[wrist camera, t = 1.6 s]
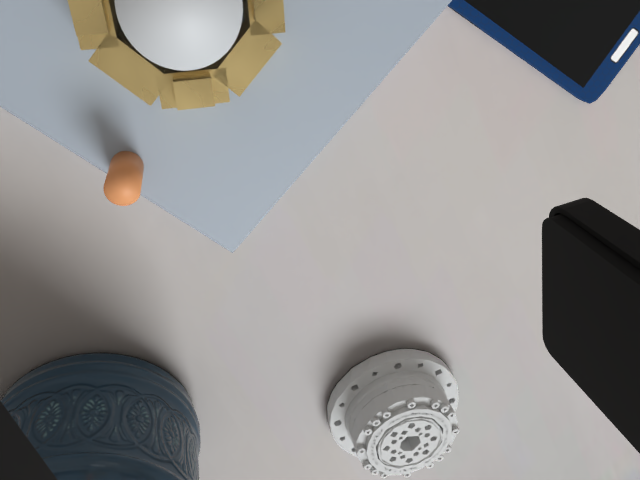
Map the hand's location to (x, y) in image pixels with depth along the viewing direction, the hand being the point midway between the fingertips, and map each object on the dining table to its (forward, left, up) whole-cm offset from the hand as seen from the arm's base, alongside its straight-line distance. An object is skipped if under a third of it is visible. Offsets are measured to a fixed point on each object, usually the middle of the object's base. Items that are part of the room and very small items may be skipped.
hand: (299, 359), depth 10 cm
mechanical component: (+11, +25, -23) cm, 35 cm away
